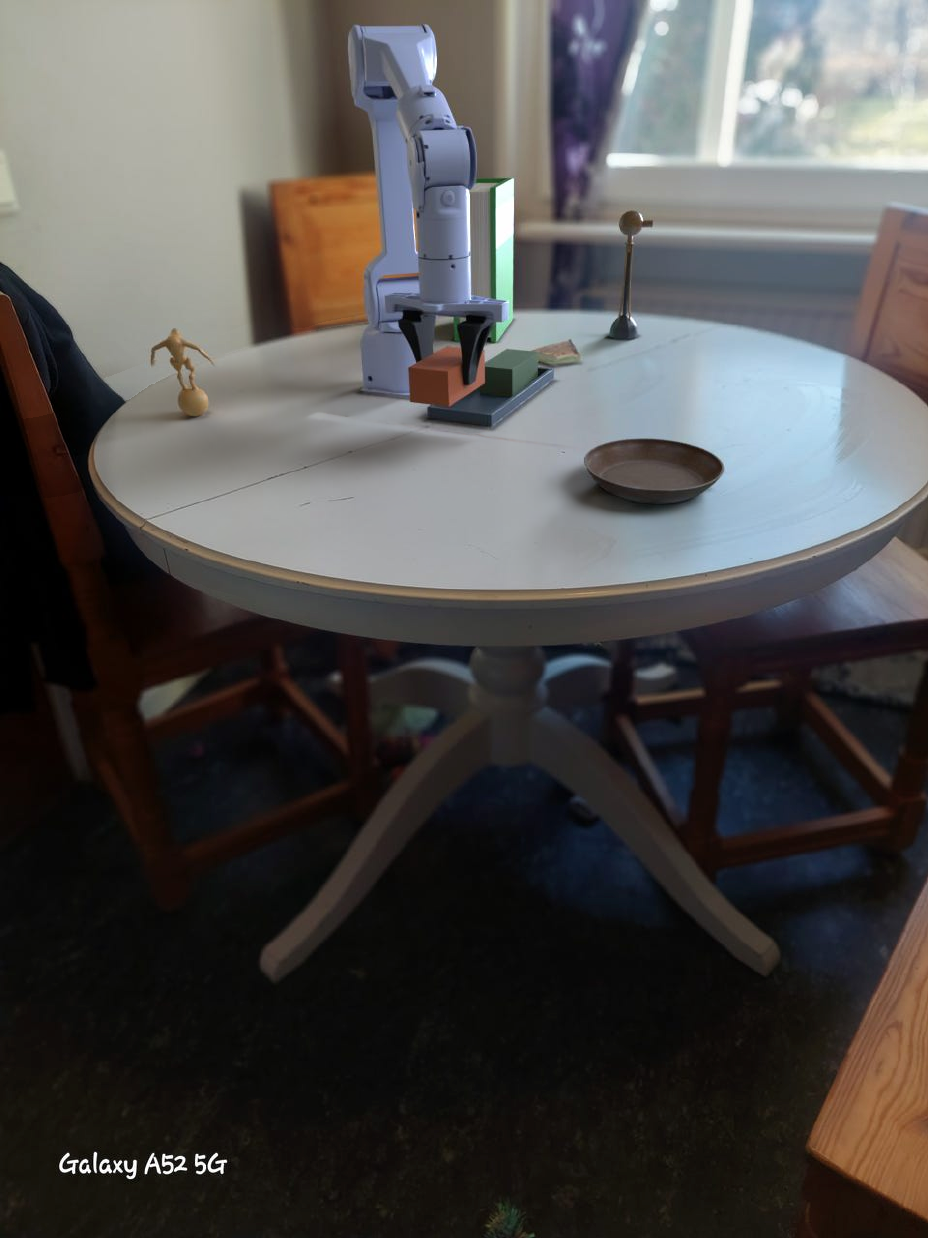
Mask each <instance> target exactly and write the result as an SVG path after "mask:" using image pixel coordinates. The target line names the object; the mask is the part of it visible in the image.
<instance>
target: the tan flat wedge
mask: <svg viewBox="0 0 928 1238" xmlns="http://www.w3.org/2000/svg"><path fill="white" fill-rule="evenodd" d="M530 351H534V352H538V362H541V363H544V364H549V365H552V366H555V365H559V364H567V363H578V362H579V361H580V359H581V356H580V353H579V351H578V349H577V347H576V345H575V344H574V343H573V340H572V338H571V339H570V338H569V339H568V340H564V341H561V342H560V341H559V342H556V343H552V344H549V345H545V346H541V347H538V348H535V349H532V350H530Z"/></svg>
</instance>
